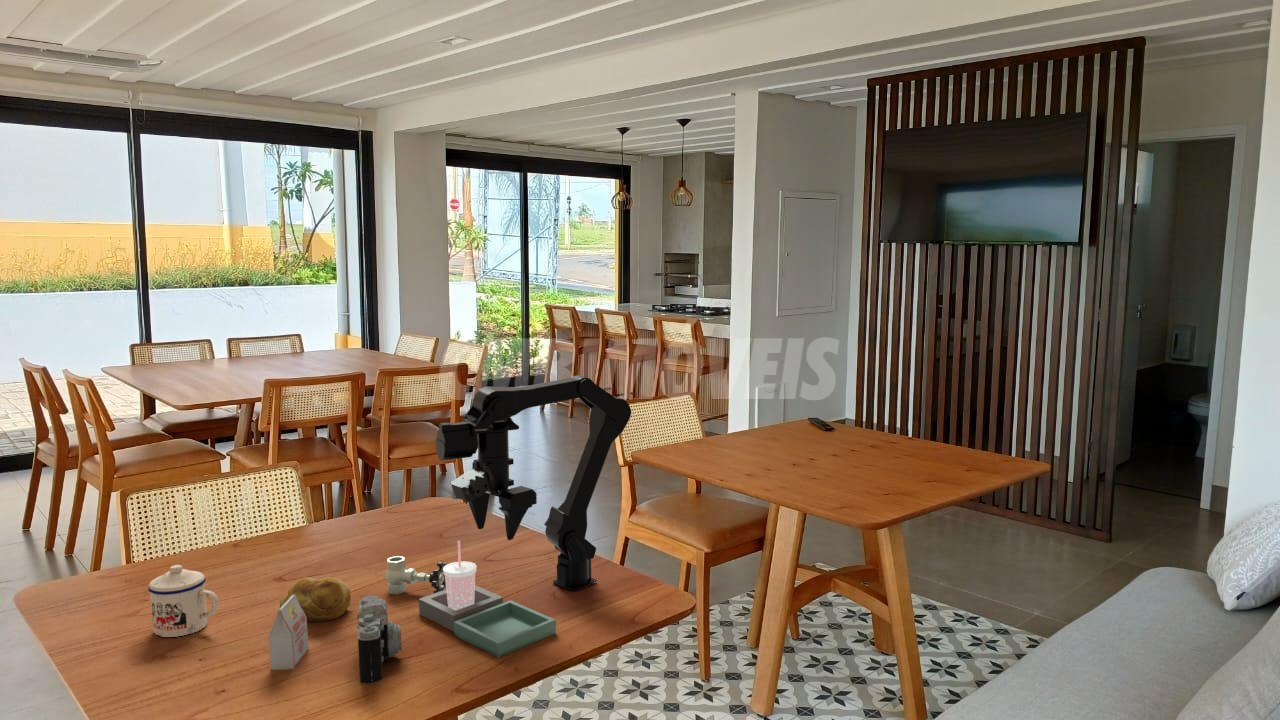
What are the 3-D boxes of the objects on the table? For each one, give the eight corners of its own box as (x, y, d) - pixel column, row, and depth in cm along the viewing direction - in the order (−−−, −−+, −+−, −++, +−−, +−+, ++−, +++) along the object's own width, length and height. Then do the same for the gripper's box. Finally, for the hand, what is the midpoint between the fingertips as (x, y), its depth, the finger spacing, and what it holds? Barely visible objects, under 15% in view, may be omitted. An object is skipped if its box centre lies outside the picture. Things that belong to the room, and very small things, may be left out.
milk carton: (271, 669, 143) (267, 611, 142) (286, 650, 150) (283, 594, 149) (293, 669, 143) (290, 610, 142) (308, 650, 150) (305, 593, 149)
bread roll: (270, 622, 161) (267, 580, 160) (300, 601, 171) (297, 561, 170) (334, 627, 159) (331, 585, 158) (361, 606, 168) (359, 565, 167)
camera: (403, 680, 140) (400, 619, 138) (358, 686, 138) (355, 625, 136) (401, 640, 154) (398, 585, 152) (360, 645, 152) (357, 589, 151)
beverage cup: (485, 611, 165) (482, 539, 163) (462, 623, 160) (459, 548, 158) (461, 604, 168) (458, 533, 167) (437, 615, 163) (434, 542, 161)
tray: (510, 613, 164) (510, 600, 164) (555, 633, 156) (555, 619, 155) (454, 635, 155) (453, 621, 155) (498, 657, 147) (498, 643, 146)
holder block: (468, 596, 172) (467, 581, 172) (503, 612, 165) (503, 597, 164) (419, 614, 164) (418, 598, 164) (454, 631, 157) (453, 615, 156)
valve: (379, 596, 173) (436, 601, 170) (377, 564, 172) (435, 568, 169) (395, 584, 179) (450, 588, 177) (394, 552, 178) (449, 556, 176)
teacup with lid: (140, 638, 155) (134, 574, 153) (174, 616, 164) (169, 556, 162) (203, 641, 153) (198, 577, 152) (234, 619, 162) (229, 558, 161)
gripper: (428, 453, 167) (431, 533, 169) (488, 470, 154) (490, 556, 156) (477, 443, 175) (479, 520, 177) (538, 459, 162) (539, 541, 164)
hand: (495, 534), depth 169 cm, fingers open, 9 cm apart
